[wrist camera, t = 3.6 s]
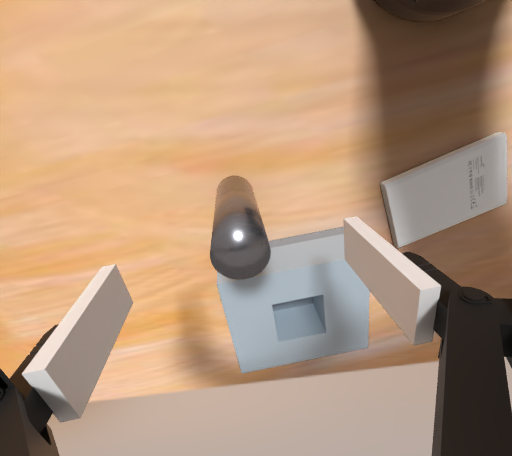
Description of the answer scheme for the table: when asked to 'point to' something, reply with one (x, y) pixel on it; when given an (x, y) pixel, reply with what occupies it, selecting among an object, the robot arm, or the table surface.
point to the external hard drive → (447, 190)
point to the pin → (238, 231)
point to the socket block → (297, 304)
